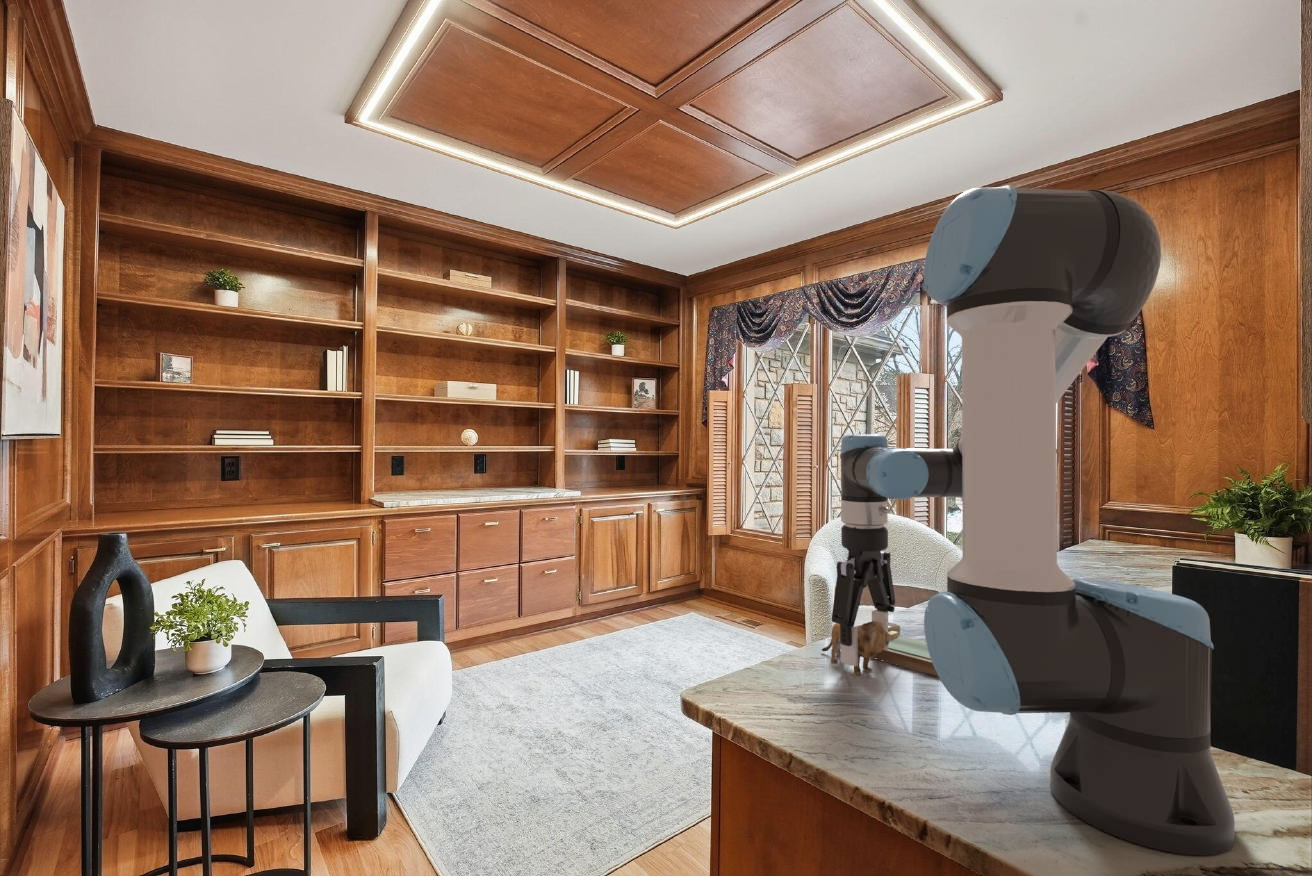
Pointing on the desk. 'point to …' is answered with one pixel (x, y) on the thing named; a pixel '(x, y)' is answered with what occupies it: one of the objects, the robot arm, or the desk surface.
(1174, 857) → the desk surface
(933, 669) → the plinth
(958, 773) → the desk surface
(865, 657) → the lion figurine
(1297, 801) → the desk surface
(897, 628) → the paperweight
